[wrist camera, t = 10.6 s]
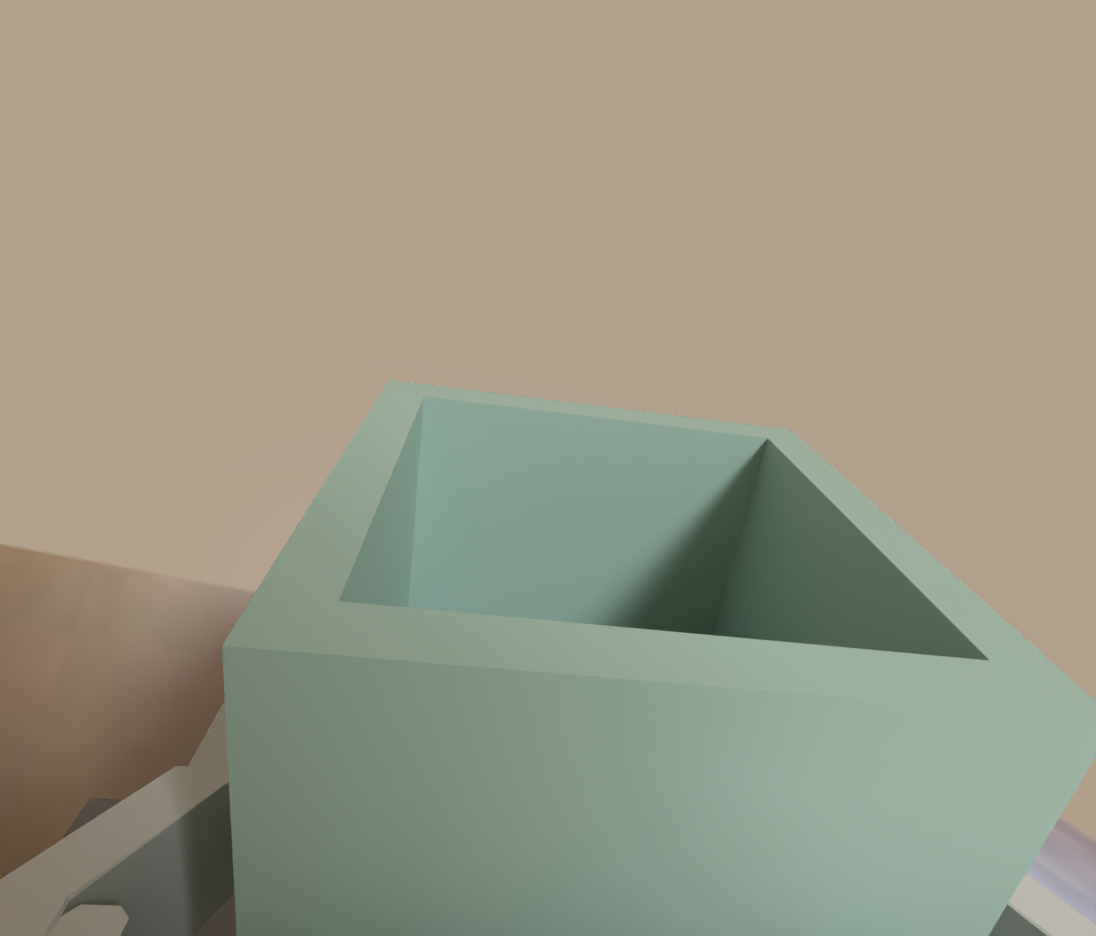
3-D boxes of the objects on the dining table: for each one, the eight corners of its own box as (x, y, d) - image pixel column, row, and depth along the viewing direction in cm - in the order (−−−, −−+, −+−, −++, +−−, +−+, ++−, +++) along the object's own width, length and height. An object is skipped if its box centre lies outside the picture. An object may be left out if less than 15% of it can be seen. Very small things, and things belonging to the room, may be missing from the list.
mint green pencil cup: (256, 1319, 8) (222, 645, 4) (364, 842, 14) (388, 379, 10) (762, 1312, 9) (1118, 720, 5) (662, 859, 15) (790, 429, 11)
